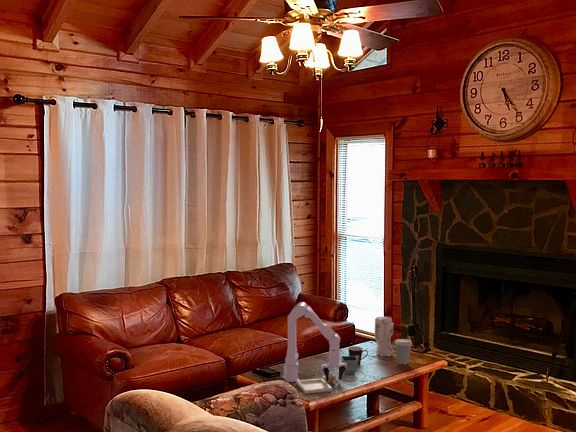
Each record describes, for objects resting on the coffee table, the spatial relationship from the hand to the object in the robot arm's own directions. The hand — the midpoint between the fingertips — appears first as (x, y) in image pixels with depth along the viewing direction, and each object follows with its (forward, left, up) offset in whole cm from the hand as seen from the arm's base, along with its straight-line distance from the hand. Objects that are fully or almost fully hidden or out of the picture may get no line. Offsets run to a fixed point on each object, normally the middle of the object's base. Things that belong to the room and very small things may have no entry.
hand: (333, 380), depth 341 cm
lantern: (-40, +50, -2) cm, 64 cm away
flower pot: (-13, +15, -2) cm, 20 cm away
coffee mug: (-26, +26, -2) cm, 37 cm away
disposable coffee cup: (-21, +54, -2) cm, 58 cm away
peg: (-5, 0, -2) cm, 5 cm away
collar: (-4, 0, -2) cm, 4 cm away
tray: (+4, -13, -2) cm, 14 cm away
